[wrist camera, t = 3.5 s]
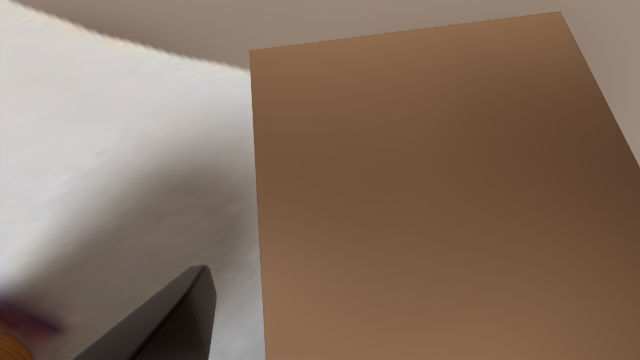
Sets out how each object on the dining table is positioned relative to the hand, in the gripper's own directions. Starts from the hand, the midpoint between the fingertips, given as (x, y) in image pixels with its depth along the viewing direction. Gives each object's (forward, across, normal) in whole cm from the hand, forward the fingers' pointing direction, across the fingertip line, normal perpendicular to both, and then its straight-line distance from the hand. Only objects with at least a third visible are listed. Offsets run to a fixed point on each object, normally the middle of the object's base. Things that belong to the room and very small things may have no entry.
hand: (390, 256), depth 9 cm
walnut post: (+6, 0, +6) cm, 8 cm away
